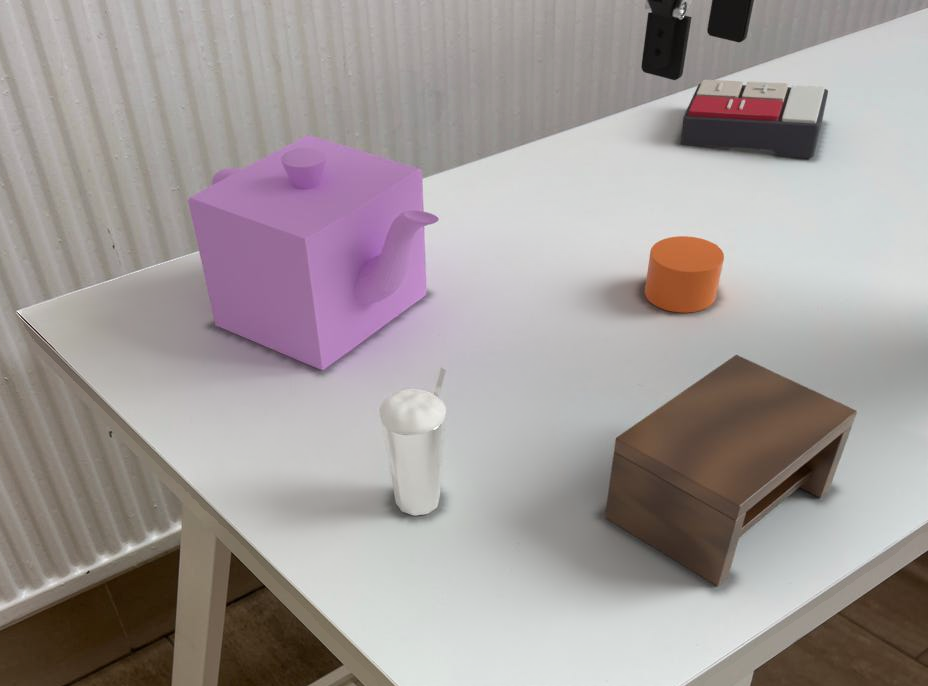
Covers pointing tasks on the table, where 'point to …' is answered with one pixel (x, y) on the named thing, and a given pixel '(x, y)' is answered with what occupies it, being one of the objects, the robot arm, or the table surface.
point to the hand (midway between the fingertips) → (694, 55)
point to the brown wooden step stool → (723, 462)
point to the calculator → (755, 116)
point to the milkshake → (415, 446)
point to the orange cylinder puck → (683, 274)
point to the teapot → (312, 247)
